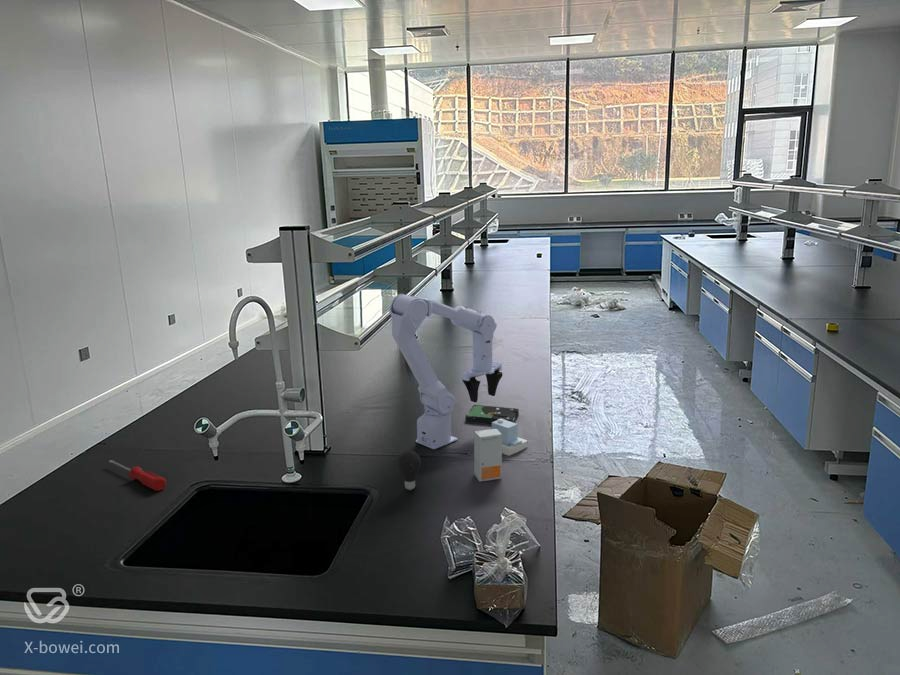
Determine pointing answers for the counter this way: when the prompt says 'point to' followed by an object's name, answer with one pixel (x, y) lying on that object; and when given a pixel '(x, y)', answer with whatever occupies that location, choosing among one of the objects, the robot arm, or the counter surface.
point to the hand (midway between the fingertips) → (482, 398)
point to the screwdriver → (145, 477)
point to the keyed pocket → (514, 447)
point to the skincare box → (488, 454)
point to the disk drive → (490, 414)
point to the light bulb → (409, 467)
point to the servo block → (507, 432)
